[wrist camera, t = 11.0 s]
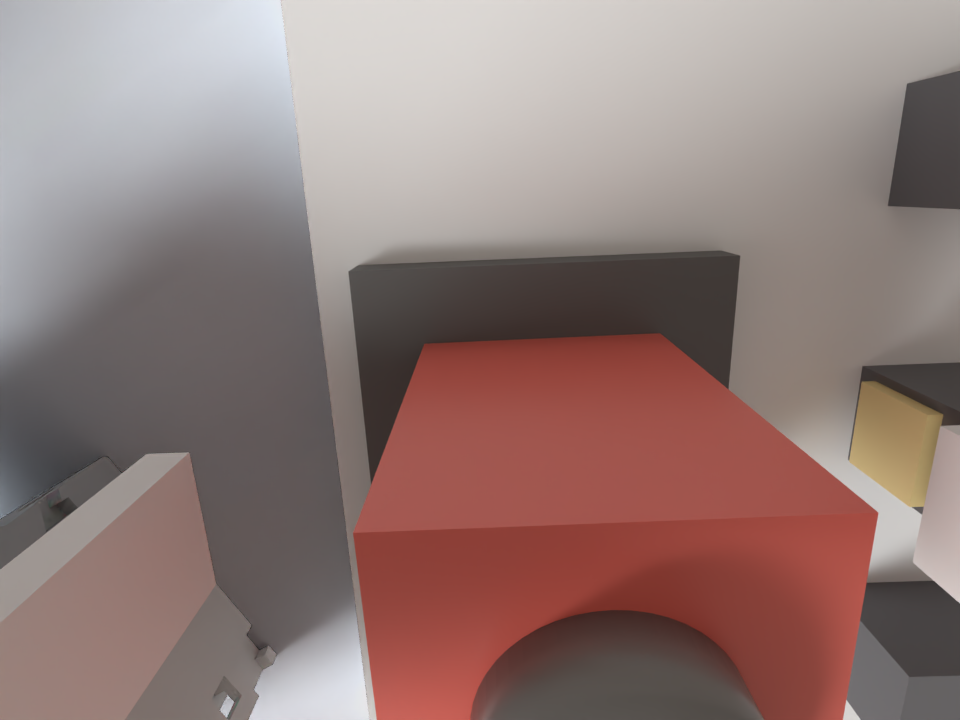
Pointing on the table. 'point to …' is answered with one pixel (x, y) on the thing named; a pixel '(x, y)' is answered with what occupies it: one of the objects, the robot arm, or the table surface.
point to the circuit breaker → (202, 647)
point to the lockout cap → (602, 544)
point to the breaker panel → (659, 232)
